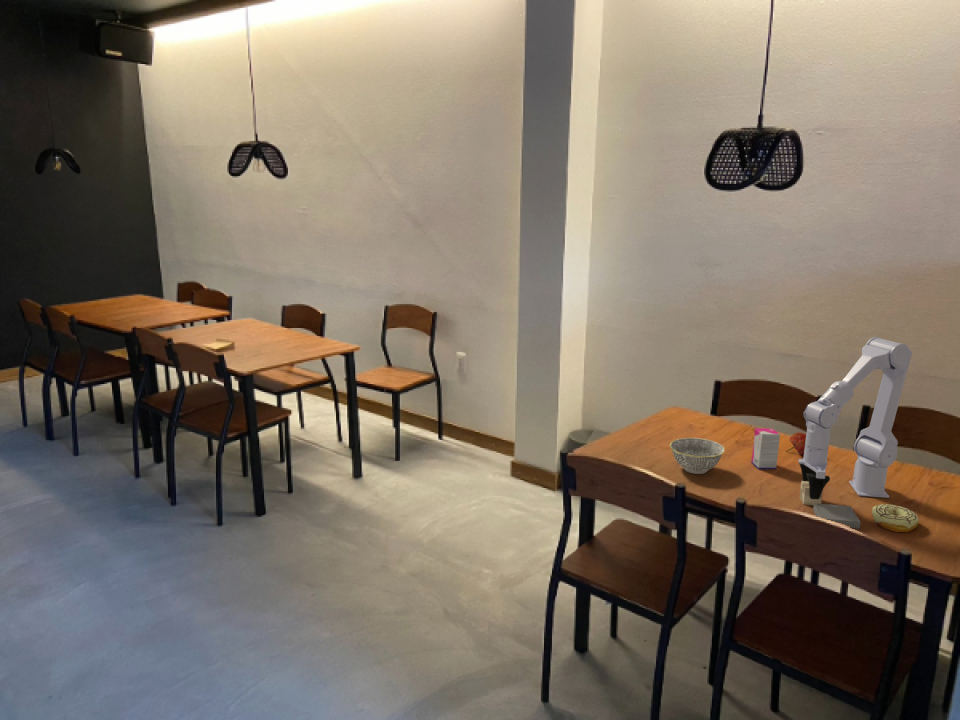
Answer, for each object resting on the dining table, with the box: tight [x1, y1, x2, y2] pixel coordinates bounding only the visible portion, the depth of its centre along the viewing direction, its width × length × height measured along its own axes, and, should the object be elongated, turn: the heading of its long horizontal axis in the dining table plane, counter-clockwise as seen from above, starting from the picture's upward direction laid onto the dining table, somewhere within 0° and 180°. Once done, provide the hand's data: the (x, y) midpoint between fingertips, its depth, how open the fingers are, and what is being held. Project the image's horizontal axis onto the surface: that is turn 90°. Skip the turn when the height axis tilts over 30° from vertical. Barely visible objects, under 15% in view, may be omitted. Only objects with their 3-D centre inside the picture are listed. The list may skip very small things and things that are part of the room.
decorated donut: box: [871, 503, 920, 533], centre depth 183 cm, size 10×11×4 cm
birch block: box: [799, 480, 824, 506], centre depth 195 cm, size 4×4×5 cm
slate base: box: [812, 503, 862, 530], centre depth 185 cm, size 9×9×2 cm
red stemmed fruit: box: [785, 431, 807, 456], centre depth 229 cm, size 7×7×10 cm
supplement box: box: [750, 427, 781, 470], centre depth 219 cm, size 6×6×12 cm
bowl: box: [669, 437, 726, 475], centre depth 217 cm, size 16×16×8 cm
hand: (810, 492), depth 195 cm, fingers open, 7 cm apart
